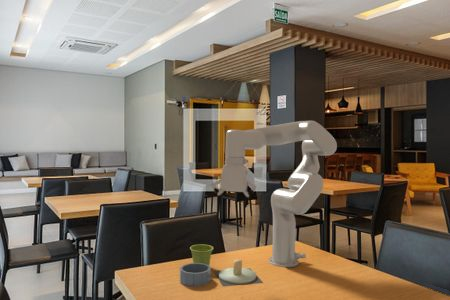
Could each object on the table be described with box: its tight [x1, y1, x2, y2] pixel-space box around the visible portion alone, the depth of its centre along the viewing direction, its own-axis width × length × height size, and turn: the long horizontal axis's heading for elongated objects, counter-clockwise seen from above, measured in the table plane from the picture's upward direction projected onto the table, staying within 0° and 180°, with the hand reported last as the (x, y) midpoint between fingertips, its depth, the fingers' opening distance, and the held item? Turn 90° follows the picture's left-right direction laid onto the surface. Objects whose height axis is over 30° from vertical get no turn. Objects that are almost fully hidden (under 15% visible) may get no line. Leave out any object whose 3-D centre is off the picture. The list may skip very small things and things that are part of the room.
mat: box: [213, 268, 264, 287], centre depth 134 cm, size 15×15×1 cm
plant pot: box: [189, 243, 214, 266], centre depth 143 cm, size 9×9×9 cm
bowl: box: [179, 262, 212, 287], centre depth 130 cm, size 11×11×5 cm
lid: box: [219, 258, 257, 285], centre depth 134 cm, size 14×14×6 cm
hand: (233, 206), depth 138 cm, fingers open, 9 cm apart
